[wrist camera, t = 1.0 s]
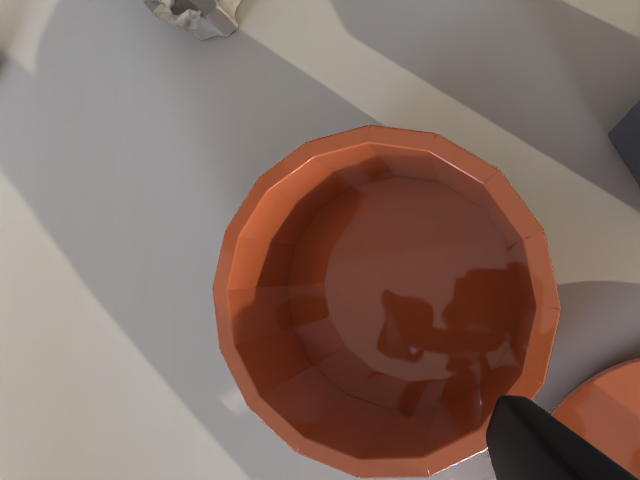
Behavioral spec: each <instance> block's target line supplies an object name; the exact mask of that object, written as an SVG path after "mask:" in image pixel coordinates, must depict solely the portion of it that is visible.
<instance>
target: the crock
mask: <svg viewBox="0 0 640 480" xmlns="http://www.w3.org/2000/svg"><path fill="white" fill-rule="evenodd" d="M213 297H214V305H215V313H216V322H217V330H218V338H219V346H220V350H221V353H222V355H223V357H224V359H225V361H226V363H227V365H228V367H229V369H230V371H231V373H232V375H233V377H234V379H235V381H236V383H237V385H238V387H239V389H240V391H241V393H242V395H243V398H244V400H245V402H246V404H247V406H249V409H250V410H251V411H252V412H253V413H255V414H256V415H257V416H258V417H259V418H260V419H261V420H262V421H263V422H264V423H265V424H266V425H267V426H268V427H269V428H270V429H271V430H272V431H273V432H274V433H276V434H277V435H278V436H279V437H280V438H281V439H282V440H283V441H284V442H285V443H286V444H287V445H288V446H289V447H290V448H291V449H292V450H293V451H294V452H297V453H299V454H301V455H303V456H306V457H308V458H311V459H313V460H316V461H318V462H321V463H323V464H326V465H328V466H330V467H333V468H335V469H338V470H340V471H343V472H345V473H348V474H350V475H353V476H355V477H360V478H408V477H429V476H433V475H436V474H438V473H440V472H442V471H444V470H446V469H448V468H450V467H452V466H454V465H456V464H458V463H460V462H463V461H465V460H467V459H469V458H471V457H473V456H475V455H477V454H479V453H481V452H483V451H485V450H487V449H488V447H487V443H486V431H487V427H488V424H489V421H490V418H491V415H492V413H493V410H494V407H495V404H496V401H497V399H498V398H499V397H500V396H503V395H517V396H524V397H527V398H528V399H530V400H531V401H532V400H533V399H534V397H535V396H536V395H537V394H538V392H539V391H540V390H541V389H542V387H543V384H544V383H545V380H546V375H547V371H548V366H549V362H550V358H551V353H552V349H553V344H554V340H555V336H556V331H557V327H558V322H559V318H560V313H561V309H560V308H561V303H560V299H559V294H558V289H557V285H556V280H555V276H554V271H553V266H552V262H551V257H550V253H549V248H548V243H547V239H546V234H545V233H544V229H543V228H542V226H541V225H540V224H539V222H538V221H537V220H536V218H535V217H534V216H533V214H532V213H531V211H530V210H529V209H528V207H527V206H526V205H525V203H524V202H523V201H522V199H521V198H520V197H519V195H518V194H517V192H516V191H515V190H514V188H513V187H512V186H511V184H510V183H509V182H508V180H507V179H506V178H505V176H504V175H503V173H502V172H501V171H500V170H498V169H497V168H496V167H494V166H492V165H491V164H489V163H487V162H485V161H484V160H482V159H480V158H479V157H477V156H475V155H473V154H472V153H470V152H468V151H466V150H465V149H463V148H461V147H460V146H458V145H456V144H454V143H453V142H451V141H449V140H448V139H446V138H444V137H442V136H441V135H439V134H437V135H436V134H435V133H431V132H423V131H415V130H407V129H399V128H391V127H383V126H375V125H370V126H368V125H367V126H363V127H360V128H356V129H352V130H349V131H345V132H341V133H338V134H334V135H330V136H327V137H323V138H319V139H316V140H312V141H309V142H306V143H305V144H303V145H302V146H301V147H299V148H298V149H297V150H295V151H294V152H293V153H291V154H290V155H289V156H287V157H286V158H285V159H283V160H282V161H281V162H279V163H278V164H277V165H275V166H274V167H273V168H271V169H270V170H269V171H267V172H266V173H265V174H263V175H262V176H261V177H259V180H257V181H256V183H255V185H254V186H253V188H252V189H251V191H250V192H249V194H248V196H247V197H246V199H245V200H244V202H243V204H242V205H241V207H240V208H239V210H238V211H237V213H236V215H235V216H234V218H233V219H232V221H231V222H230V224H229V226H228V227H227V230H226V231H225V234H224V239H223V243H222V248H221V253H220V257H219V262H218V266H217V271H216V275H215V280H214V284H213Z"/></svg>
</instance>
